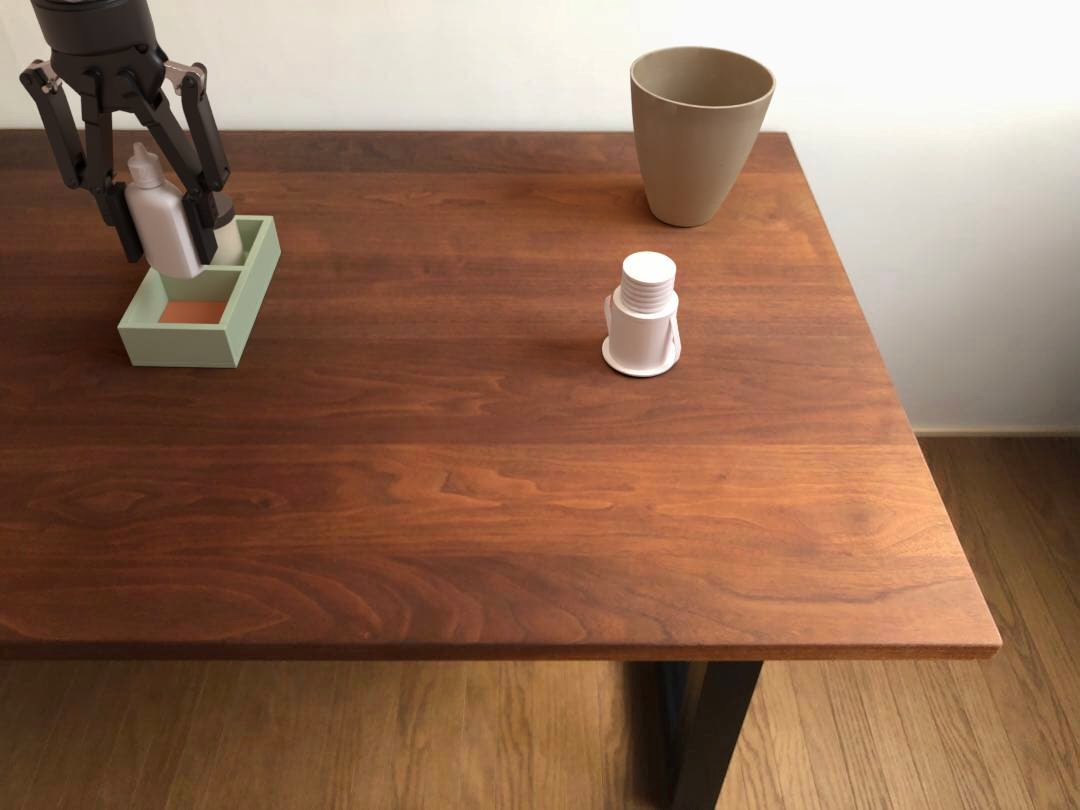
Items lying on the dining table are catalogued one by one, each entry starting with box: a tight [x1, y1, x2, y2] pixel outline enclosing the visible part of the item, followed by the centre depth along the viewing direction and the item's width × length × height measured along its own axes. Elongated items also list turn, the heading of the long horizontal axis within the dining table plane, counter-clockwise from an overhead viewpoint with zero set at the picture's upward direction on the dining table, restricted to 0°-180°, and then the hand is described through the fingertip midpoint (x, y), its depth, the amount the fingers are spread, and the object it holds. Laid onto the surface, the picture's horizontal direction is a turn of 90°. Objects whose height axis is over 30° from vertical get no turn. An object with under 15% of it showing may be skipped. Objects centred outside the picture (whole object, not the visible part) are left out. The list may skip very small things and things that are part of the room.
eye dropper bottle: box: [124, 141, 207, 279], centre depth 76 cm, size 4×6×12 cm
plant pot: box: [629, 45, 777, 228], centre depth 97 cm, size 15×15×16 cm
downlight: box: [601, 251, 682, 378], centre depth 81 cm, size 8×7×10 cm
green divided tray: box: [116, 214, 282, 369], centre depth 87 cm, size 18×10×5 cm, turn 179°
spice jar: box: [210, 191, 246, 266], centre depth 89 cm, size 5×5×8 cm
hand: (174, 254), depth 79 cm, fingers closed on eye dropper bottle, 6 cm apart
